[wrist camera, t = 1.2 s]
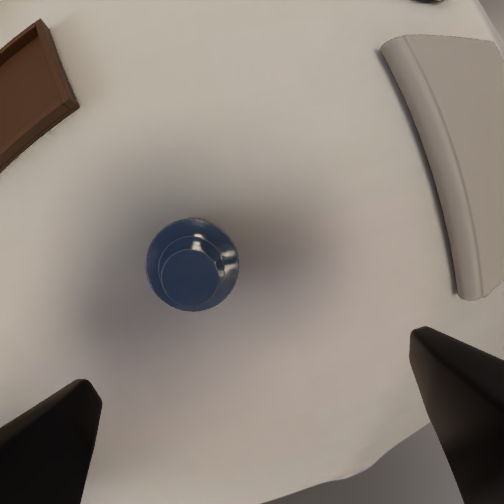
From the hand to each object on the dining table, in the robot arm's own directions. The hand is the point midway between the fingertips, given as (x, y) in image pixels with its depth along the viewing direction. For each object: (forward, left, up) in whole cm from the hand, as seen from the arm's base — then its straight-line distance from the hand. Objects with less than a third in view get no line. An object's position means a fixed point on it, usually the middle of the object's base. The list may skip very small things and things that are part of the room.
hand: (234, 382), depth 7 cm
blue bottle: (0, +2, -14) cm, 14 cm away
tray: (-17, +21, -14) cm, 30 cm away
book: (+29, -3, -15) cm, 32 cm away
